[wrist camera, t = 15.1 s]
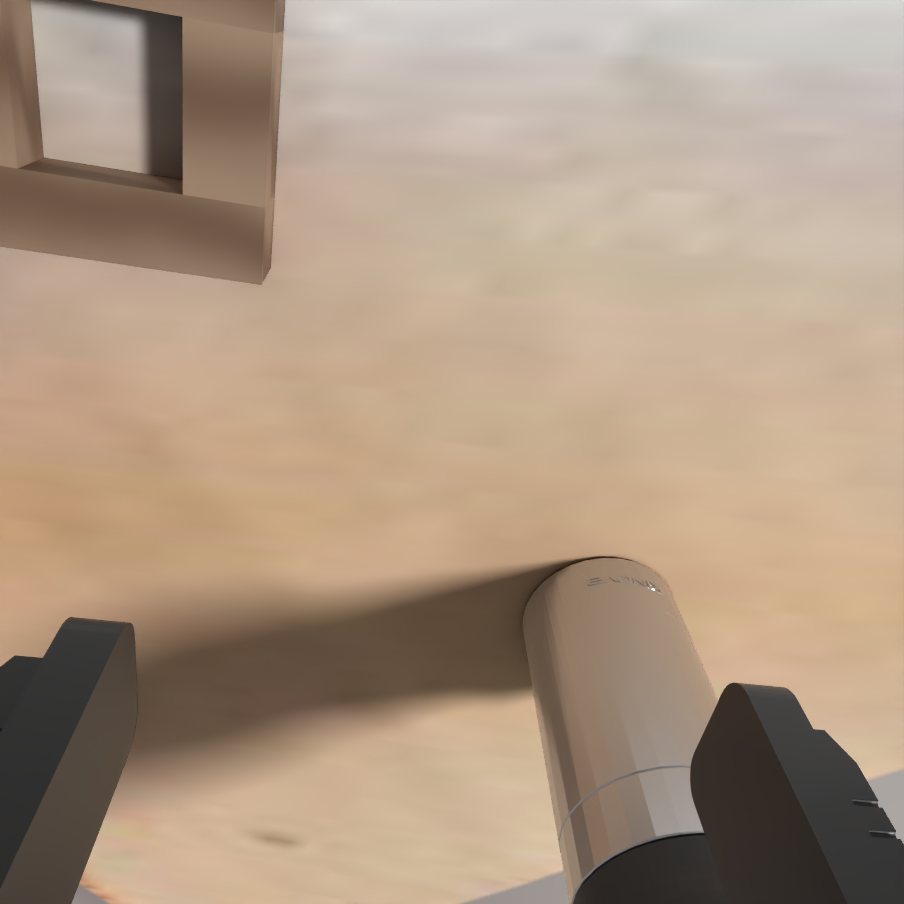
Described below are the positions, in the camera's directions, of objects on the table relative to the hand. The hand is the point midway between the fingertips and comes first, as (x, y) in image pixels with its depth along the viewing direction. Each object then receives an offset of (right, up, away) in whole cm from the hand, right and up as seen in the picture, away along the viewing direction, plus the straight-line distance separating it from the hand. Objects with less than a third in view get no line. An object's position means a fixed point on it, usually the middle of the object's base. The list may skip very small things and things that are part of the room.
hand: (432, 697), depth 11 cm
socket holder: (-13, +18, +21) cm, 31 cm away
